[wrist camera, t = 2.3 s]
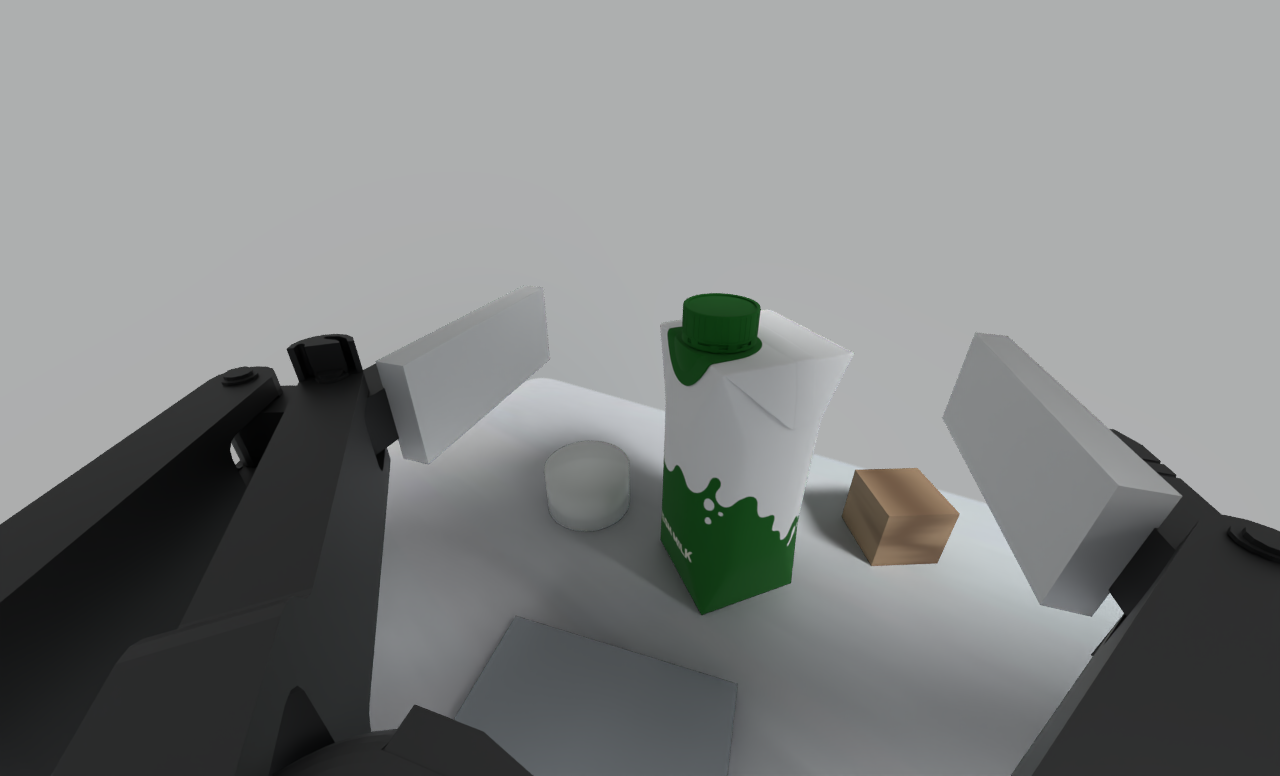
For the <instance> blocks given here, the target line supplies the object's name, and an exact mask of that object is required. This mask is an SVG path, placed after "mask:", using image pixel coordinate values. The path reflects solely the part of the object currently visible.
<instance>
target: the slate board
mask: <svg viewBox="0 0 1280 776" xmlns="http://www.w3.org/2000/svg"><path fill="white" fill-rule="evenodd" d="M737 687H738V684H737V683H733V682H730V681H727V680H724V679H720V678H717V677H714V676H711V675H707V674H704V673H701V672H697V671H694V670H691V669H688V668H684V667H681V666H678V665H675V664H671V663H668V662H665V661H662V660H658V659H655V658H652V657H649V656H645V655H642V654H639V653H636V652H632V651H629V650H626V649H622V648H619V647H616V646H613V645H609V644H606V643H603V642H600V641H596V640H593V639H590V638H587V637H583V636H580V635H577V634H574V633H570V632H567V631H564V630H560V629H557V628H554V627H551V626H547V625H544V624H541V623H538V622H534V621H531V620H528V619H525V618H521V617H518V616H515V618H514V620H513V621H512V623H511V625H510V626H509V628H508V630H507V631H506V633H505V635H504V636H503V638H502V640H501V641H500V643H499V645H498V646H497V648H496V650H495V651H494V653H493V655H492V656H491V658H490V660H489V661H488V663H487V665H486V666H485V668H484V670H483V671H482V673H481V675H480V676H479V678H478V680H477V681H476V683H475V685H474V686H473V688H472V690H471V691H470V693H469V695H468V697H467V698H466V700H465V702H464V703H463V705H462V707H461V708H460V710H459V712H458V713H457V715H456V717H455V718H454V720H456V721H458V722H461V723H463V724H466V725H468V726H471V727H473V728H476V729H478V730H481V731H483V732H485V733H486V734H487V735H488V736H489V737H490V738H491V739H493V740H494V741H495V742H496V743H497V744H498V745H499V746H500V747H502V748H503V749H504V750H505V751H506V752H507V753H508V754H509V755H511V756H512V757H513V758H514V759H515V760H516V761H517V762H518V763H520V764H521V765H522V766H523V767H524V768H525V769H526V770H527V771H529V772H530V773H531V774H532V775H533V776H727V775H728V766H729V757H730V748H731V740H732V731H733V722H734V713H735V704H736V696H737Z"/></svg>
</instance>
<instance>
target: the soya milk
mask: <svg viewBox="0 0 1280 776" xmlns="http://www.w3.org/2000/svg"><path fill="white" fill-rule="evenodd" d="M660 327H661V340H662V353H663V365H664V379H665V394H666V395H665V396H666V410H665V441H664V470H663V498H662V520H661V541H662V543H663V545H664V547H665V549H666V550H667V552H668V554H669V556H670V558H671V560H672V562H673V563H674V565H675V567H676V569H677V571H678V573H679V574H680V576H681V578H682V580H683V582H684V584H685V586H686V587H687V589H688V591H689V593H690V595H691V597H692V599H693V600H694V602H695V604H696V606H697V608H698V610H699V611H700V613H701V615H703V614H706V613H709V612H712V611H714V610H717V609H720V608H723V607H726V606H728V605H731V604H734V603H737V602H740V601H742V600H745V599H748V598H751V597H753V596H756V595H759V594H762V593H765V592H767V591H770V590H773V589H776V588H779V587H781V586H784V585H787V584H790V583H791V577H792V568H793V559H794V550H795V540H796V531H797V523H798V518H799V514H800V510H801V505H802V501H803V496H804V492H805V487H806V483H807V479H808V474H809V470H810V465H811V461H812V457H813V452H814V448H815V444H816V439H817V434H818V431H819V427H820V422H821V419H822V417H823V414H824V412H825V410H826V408H827V406H828V404H829V402H830V400H831V398H832V396H833V394H834V392H835V390H836V388H837V386H838V384H839V382H840V380H841V378H842V376H843V375H844V372H845V371H846V369H847V367H848V365H849V363H850V361H851V359H852V357H853V355H854V353H853V352H851V351H849V350H847V349H846V348H844V347H842V346H840V345H838V344H836V343H834V342H832V341H830V340H828V339H826V338H824V337H822V336H820V335H819V334H817V333H815V332H813V331H811V330H809V329H807V328H805V327H803V326H801V325H799V324H797V323H795V322H793V321H791V320H790V319H788V318H786V317H784V316H782V315H780V314H778V313H776V312H774V311H772V310H762V311H761V309H760V305H759V304H758V303H757V302H755V301H754V300H752V299H749V298H746V297H742V296H738V295H733V294H721V293H710V294H700V295H696V296H692V297H690V298H688V299H686V300H685V301H684V304H683V320H676V321H670V322H664V323H662V324H661V325H660Z"/></svg>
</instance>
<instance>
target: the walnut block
mask: <svg viewBox="0 0 1280 776" xmlns="http://www.w3.org/2000/svg"><path fill="white" fill-rule="evenodd" d="M958 517H959V513H958V511H957V510H956V509H955V508H954V507H953V506H952V505H951V504H950V503H949V502H948V501H947V500H946V498H945V497H944V496H943V495H942V494H941V493H940V492H939V491H938V490H937V489H936V488H935V487H934V485H933V484H932V483H931V482H930V481H929V480H928V479H927V478H926V477H925V476H924V475H923V474H922V473H921V471H920V470H919V469H918V468H906V469H905V468H903V469H869V470H855V473H854V476H853V480H852V483H851V486H850V490H849V493H848V497H847V500H846V504H845V507H844V511H843V514H842V518H843V520H844V521H845V523H846V525H847V526H848V528H849V530H850V531H851V533H852V535H853V536H854V538H855V540H856V541H857V543H858V545H859V546H860V548H861V549H862V551H863V553H864V554H865V556H866V558H867V559H868V561H869V563H870V564H871V566H882V565H907V564H932V563H938V561H939V558H940V556H941V554H942V552H943V550H944V547H945V545H946V543H947V541H948V539H949V536H950V534H951V532H952V530H953V528H954V525H955V523H956V521H957V519H958Z"/></svg>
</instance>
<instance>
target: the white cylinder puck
mask: <svg viewBox="0 0 1280 776" xmlns="http://www.w3.org/2000/svg"><path fill="white" fill-rule="evenodd" d="M544 475H545V483H546V491H547V499H548V507H549V512H550V514H551V516H552V518H553V519H554V520H555V521H556V522H557V523H558V524H560V525H561V526H563V527H565V528H568V529H571V530H576V531H596V530H600V529H603V528H606V527H609V526H611V525H613V524H614V523H616V522H617V521H619V520H620V519H621V518H622V517H623V516H624V515H625V513H626V512H627V510H628V507H629V503H630V483H629V459H628V457H627V456H626V454H625V453H624V452H623V451H622V450H621V449H620V448H618V447H616V446H614V445H612V444H609V443H605V442H600V441H581V442H576V443H572V444H569V445H566V446H564V447H562V448H560V449H558V450H557V451H555V452H554V453H553V454H552V455H551V456H550V457H549V458H548V460H547V461H546V463H545V467H544Z"/></svg>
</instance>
